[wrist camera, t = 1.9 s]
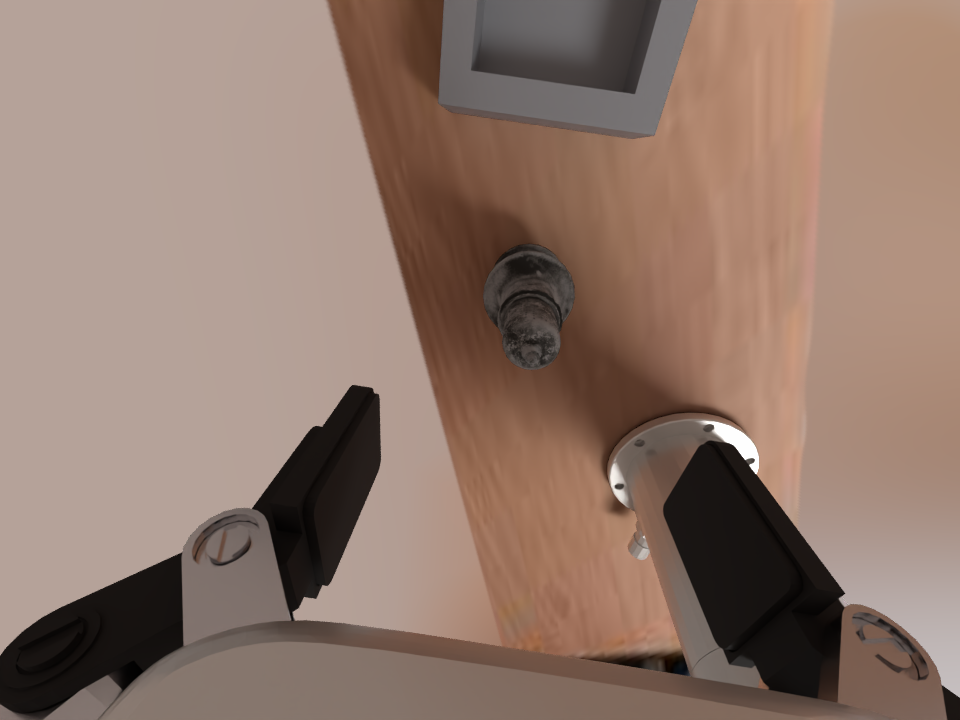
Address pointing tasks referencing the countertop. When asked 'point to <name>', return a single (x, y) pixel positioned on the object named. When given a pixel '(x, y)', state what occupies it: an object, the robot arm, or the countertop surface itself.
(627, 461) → the robot arm
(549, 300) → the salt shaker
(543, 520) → the countertop surface
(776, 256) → the countertop surface
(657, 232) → the countertop surface
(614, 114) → the holder
